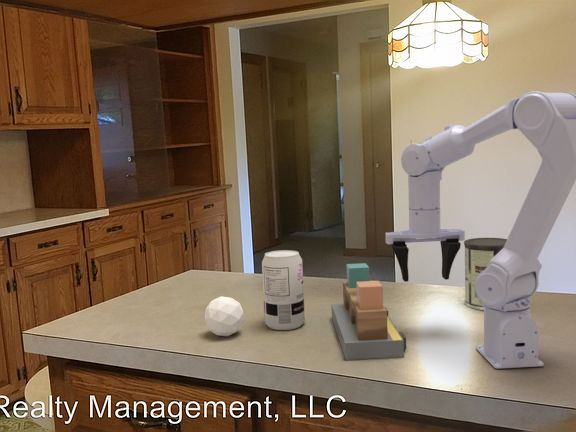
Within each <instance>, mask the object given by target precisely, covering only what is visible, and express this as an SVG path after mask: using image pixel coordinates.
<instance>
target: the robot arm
mask: <svg viewBox="0 0 576 432" xmlns="http://www.w3.org/2000/svg"><path fill="white" fill-rule="evenodd" d="M443 129H444V131H442V132H440V133H438V134H436V135H434V136H427V137H425V139H424V142H422V143H421V144H419V143H410V144H409V145H408V146H406V147H405V148H404V149H403V151H402V154H401V158H400V163H401V167H402V169H403V171H404V172H405V173H406V174H407V175H408V176H407V177H408V179H407V181H408V186H407V187H408V227H409V229H408V230H400V231H391V232H385V244H387V245H390V247H391V249H392V251H393V252H394V254H395V258H396V259H397V262H398V265H399V269H400V272H401V279H402V281H404V282H405V283H406V282H409V264H408V263H409V251H410V248H409V247H407V244H408V243H409V244H410V243H427V242H428V243H429V242H431V243H432V242H440V249H441V261H442V262H441V277H442V279H444V280H450V275H451V271H452V266H453V264H454V261H455V259H456V256H457V254H458V252H459V251H460V249H461V246H462V245H461V242H464V241H465V240H466V239H465V237H466V235H465V234H466V232H465V230H464V229H463V228H455V229H454V228H450V229H448V228H446V229H445V228H441V180H442V177H443V175H442V174H443V171H444V170H445V169H446V167H447V166H449V165H452V164H453V163H455V162H458V161H460V160H462V159H465V158H466V157H469V156H470V155H472V154H473V153H474V150H475V146H476V145H477V144H480V143H482V142H485V141H487V140H489V139H492V138H494V137H496V136H499V135H500V134H503V133H505V132H508V131H510V130H519V131H520V132H521V133H522V135H523V136H524V137H525V138H526V139H527V140H528V141H529V142H530V143H531V144H532V145H533V146H534V148H536V149H537V152H538V154H539V156H540V158H541V160H542V161H541V163H540V166H539V168H538V170H537V172H536V174H535V177H534V179H533V181H532V184H531V186H530V188H529V190H528V193H527V194H526V197H525V199H524V201H523V204H522V206H521V208H520V211H519V212H518V215H517V217H516V219H515V222H514V224H513V226H512V228H511V230H510V233H509V234H508V237H507V238H506V239H507V241H506V243H505V245H504V248H503V249H502V250H501V251H500V252H499V253H497V254H496V255H495V256H494V257H493V258H492V259H491V260H490V262H489V264H488V266H487V268H486V269H485V270H483V271H482V272H480V273H479V274H478V276H477V278H476V280H475V291H476V294H477V296H478V298H479V299H480V301H481V302H482V306H483V307H484V310H483V344H482V345H480V344H479V345H475V349H476V350H477V352H479V354H481V356H482V357H484V358H485V360H486V361H487V362H488V363H489V364H490V365H491V366H492V367H493V369H497V370H498V369H514V368H515V369H516V368H531V367H532V368H533V367H535V368H536V367H544V365H545V364H544V362H543V361H542V360H541V359H540V358H539V328H538V324H537V323H536V322H535V320H534V319H533V318H532V316H531V303H532V296H533V295H534V294H535V293H536V292H537V290H538V287H539V284H540V283H539V276H540V275H539V274H540V271H541V269H542V266H543V265H542V263H541V262H540V260H539V259H538V258H539V256H540V255H541V252H542V250H543V248H544V247H545V244H546V242H547V240H548V238H549V236H550V234H551V231H552V230H553V227H554V226H555V224H556V222H557V219H558V217H559V216H560V213H561V211H562V209H563V207H564V205H565V203H566V201H567V199H568V197H569V194H570V193H571V191H572V188H573V187H574V185H575V182H576V94H574V93H573V92H569V91H560V92H542V91H538V90H537V91H536V90H533V91H529V92H527V93H524V95H522V96H520V97H519V96H518V97H516V98H515V97H514V98H512V99H510V100H509V101H507V103H505V104H504V105H502V106H500V107H499V108H497V109H495V110H493V111H492V112H490V113H488V114H487V115H485V116H484V117H482V118H480V119H478V120H477V121H475V122H473V123H471V124H470V125H468V126H467V127H465V126H463V125H461V124H456V125H455V124H448V125H446V126H444V128H443Z"/></svg>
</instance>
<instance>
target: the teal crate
mask: <svg viewBox="0 0 576 432" xmlns="http://www.w3.org/2000/svg"><path fill="white" fill-rule="evenodd" d="M346 281H347V284H348V286H349V288H357V286H356V282H363V281H370V267H369V265H368V263H366V262H365V263H364V262H363V263H346Z"/></svg>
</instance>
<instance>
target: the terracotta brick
mask: <svg viewBox="0 0 576 432" xmlns="http://www.w3.org/2000/svg"><path fill="white" fill-rule="evenodd" d="M356 286H357V304H358V306H359V308H360V310H367V309H383V306H384V295H383V294H384V293H383V292H384V290H383V289H384V288H383V287H384V286H383V284H381V282H380V281H379V280H369V281H363V282H356Z"/></svg>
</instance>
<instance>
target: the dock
mask: <svg viewBox="0 0 576 432" xmlns="http://www.w3.org/2000/svg"><path fill="white" fill-rule="evenodd" d="M384 307H385V309H386V310H387V330H388V339H379V340H360V341H359V340H358V337H357V335H356V324H352V323H351V321H350V319H349V310H346V309H345V307H344V303H331V307H330V308H331V320H332V323H333V326H334V329H335V332H336V334H337V337H338V341H339V343H340V347H341V349H342V352H343V356H344V358H345V360H346V361H354V360H373V359H374V360H375V359H391V358H395V359H396V358H405V354H404V353H405V350H407V337H406V335H405V334H404V332H400V331H398V329H397V328H396V326H395V325H394V323H393V322H392V320H391V319H390V317H389V310H388V309H387V307H386V306H384Z"/></svg>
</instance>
